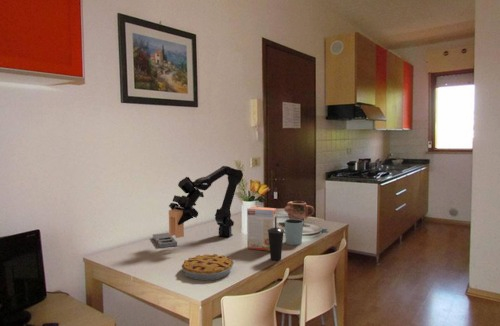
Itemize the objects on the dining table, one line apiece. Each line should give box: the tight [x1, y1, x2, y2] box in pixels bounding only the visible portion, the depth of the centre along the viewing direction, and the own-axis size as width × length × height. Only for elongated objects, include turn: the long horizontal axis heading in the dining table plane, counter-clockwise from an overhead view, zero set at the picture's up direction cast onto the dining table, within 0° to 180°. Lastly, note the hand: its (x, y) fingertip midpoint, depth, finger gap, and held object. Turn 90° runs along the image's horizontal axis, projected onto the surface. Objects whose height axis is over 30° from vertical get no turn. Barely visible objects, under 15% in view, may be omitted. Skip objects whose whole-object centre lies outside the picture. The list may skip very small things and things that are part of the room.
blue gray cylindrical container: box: [284, 218, 305, 246], centre depth 196 cm, size 10×10×12 cm
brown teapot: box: [283, 200, 315, 222], centre depth 239 cm, size 20×12×14 cm, turn 72°
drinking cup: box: [268, 216, 285, 262], centre depth 170 cm, size 8×8×20 cm
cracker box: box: [246, 206, 277, 252], centre depth 186 cm, size 14×6×21 cm, turn 69°
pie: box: [181, 253, 235, 281], centre depth 156 cm, size 22×22×5 cm
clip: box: [168, 209, 185, 239], centre depth 185 cm, size 7×4×13 cm, turn 45°
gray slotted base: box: [152, 232, 178, 249], centre depth 199 cm, size 20×9×2 cm, turn 25°
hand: (173, 223), depth 184 cm, fingers closed on clip, 7 cm apart
